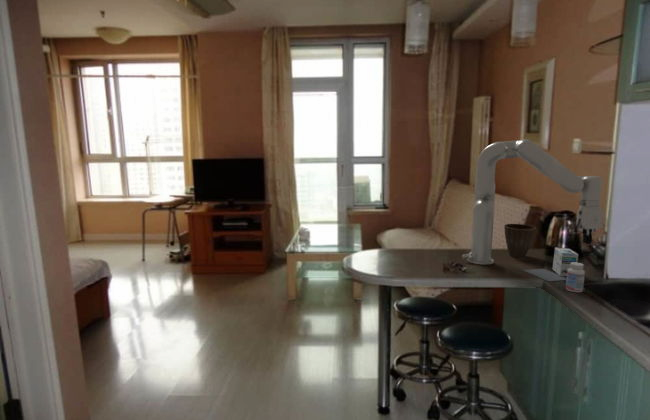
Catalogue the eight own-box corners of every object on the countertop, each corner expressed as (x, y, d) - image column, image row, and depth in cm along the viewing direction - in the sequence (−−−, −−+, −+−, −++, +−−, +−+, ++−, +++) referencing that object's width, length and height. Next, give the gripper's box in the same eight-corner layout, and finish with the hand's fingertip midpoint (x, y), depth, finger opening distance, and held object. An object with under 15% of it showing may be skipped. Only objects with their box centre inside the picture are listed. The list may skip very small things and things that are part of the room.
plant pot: (523, 252, 225) (526, 223, 223) (539, 259, 211) (541, 229, 208) (497, 252, 225) (499, 223, 222) (510, 260, 210) (513, 229, 207)
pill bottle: (562, 287, 170) (564, 261, 168) (576, 287, 170) (578, 261, 169) (572, 293, 164) (574, 266, 162) (586, 292, 165) (589, 265, 163)
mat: (548, 281, 177) (548, 281, 177) (523, 270, 193) (523, 270, 193) (570, 280, 180) (570, 279, 180) (543, 269, 195) (543, 268, 195)
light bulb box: (576, 277, 182) (579, 254, 181) (559, 276, 184) (562, 252, 182) (567, 270, 193) (570, 248, 191) (551, 269, 194) (554, 247, 192)
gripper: (583, 205, 180) (580, 246, 183) (611, 203, 183) (607, 243, 186) (569, 203, 187) (566, 242, 190) (596, 201, 191) (593, 240, 193)
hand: (586, 243), depth 188 cm, fingers closed
